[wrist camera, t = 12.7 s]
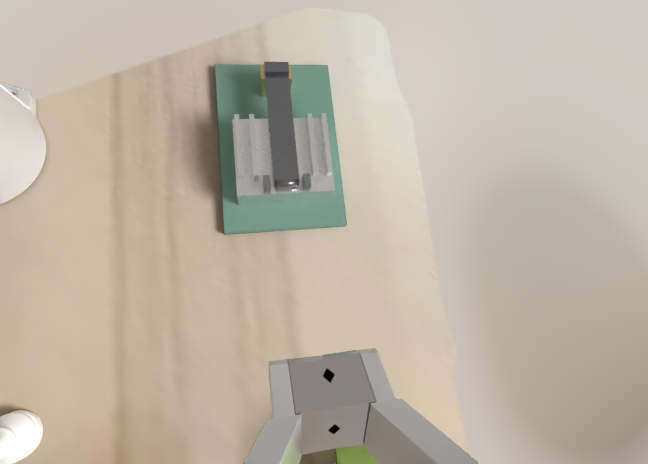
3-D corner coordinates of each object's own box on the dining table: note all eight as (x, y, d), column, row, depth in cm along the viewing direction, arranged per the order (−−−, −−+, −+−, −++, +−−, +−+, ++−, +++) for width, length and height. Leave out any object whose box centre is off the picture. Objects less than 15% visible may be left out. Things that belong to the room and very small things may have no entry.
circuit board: (345, 226, 53) (346, 224, 52) (225, 234, 50) (224, 232, 49) (326, 70, 58) (327, 65, 57) (215, 69, 55) (214, 64, 54)
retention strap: (299, 187, 48) (300, 183, 46) (274, 189, 47) (275, 184, 46) (287, 69, 51) (288, 62, 50) (264, 69, 51) (264, 61, 49)
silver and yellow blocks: (329, 200, 52) (337, 186, 47) (238, 205, 50) (236, 191, 45) (316, 83, 56) (322, 58, 50) (230, 83, 54) (227, 57, 48)
